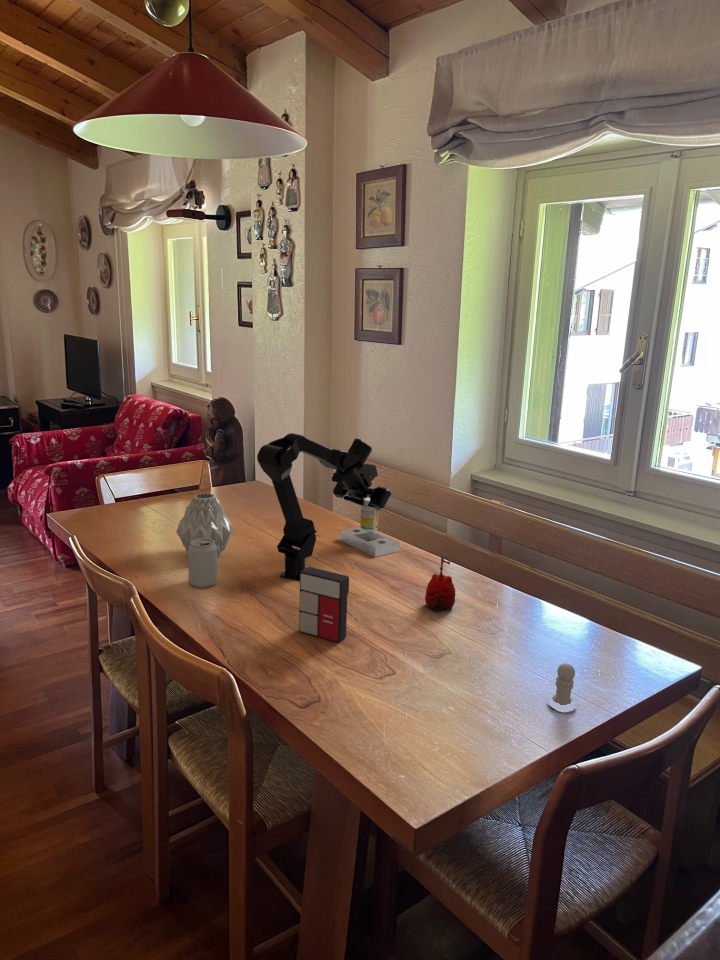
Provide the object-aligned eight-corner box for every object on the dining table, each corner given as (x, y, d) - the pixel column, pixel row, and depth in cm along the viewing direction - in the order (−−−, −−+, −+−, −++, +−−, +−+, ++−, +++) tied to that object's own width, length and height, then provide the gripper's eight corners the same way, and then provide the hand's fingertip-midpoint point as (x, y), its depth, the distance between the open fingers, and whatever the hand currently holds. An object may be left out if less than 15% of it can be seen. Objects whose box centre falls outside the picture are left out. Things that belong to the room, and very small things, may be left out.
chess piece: (570, 698, 141) (575, 658, 139) (579, 714, 136) (584, 672, 133) (544, 698, 141) (548, 657, 138) (551, 714, 135) (556, 671, 133)
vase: (239, 548, 216) (239, 489, 211) (224, 568, 200) (223, 505, 196) (187, 544, 217) (186, 486, 213) (168, 564, 202) (166, 501, 197)
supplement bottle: (367, 532, 217) (368, 502, 215) (356, 527, 221) (358, 498, 219) (381, 529, 220) (382, 500, 218) (370, 525, 224) (371, 496, 222)
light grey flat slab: (399, 551, 218) (399, 541, 217) (375, 557, 212) (375, 547, 212) (362, 534, 232) (362, 525, 231) (339, 540, 226) (339, 530, 225)
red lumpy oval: (456, 604, 182) (460, 549, 178) (452, 615, 176) (456, 558, 172) (426, 599, 184) (430, 545, 180) (421, 611, 178) (425, 554, 174)
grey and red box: (297, 632, 164) (297, 572, 160) (306, 625, 168) (307, 566, 164) (338, 644, 159) (340, 582, 155) (347, 636, 163) (349, 576, 159)
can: (201, 591, 184) (200, 548, 181) (183, 584, 189) (181, 541, 186) (223, 583, 190) (222, 541, 187) (204, 576, 194) (203, 534, 191)
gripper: (389, 462, 206) (408, 492, 217) (340, 452, 217) (361, 480, 228) (371, 493, 202) (392, 522, 213) (322, 481, 213) (344, 509, 224)
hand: (372, 507), depth 220 cm, fingers closed on supplement bottle, 5 cm apart
